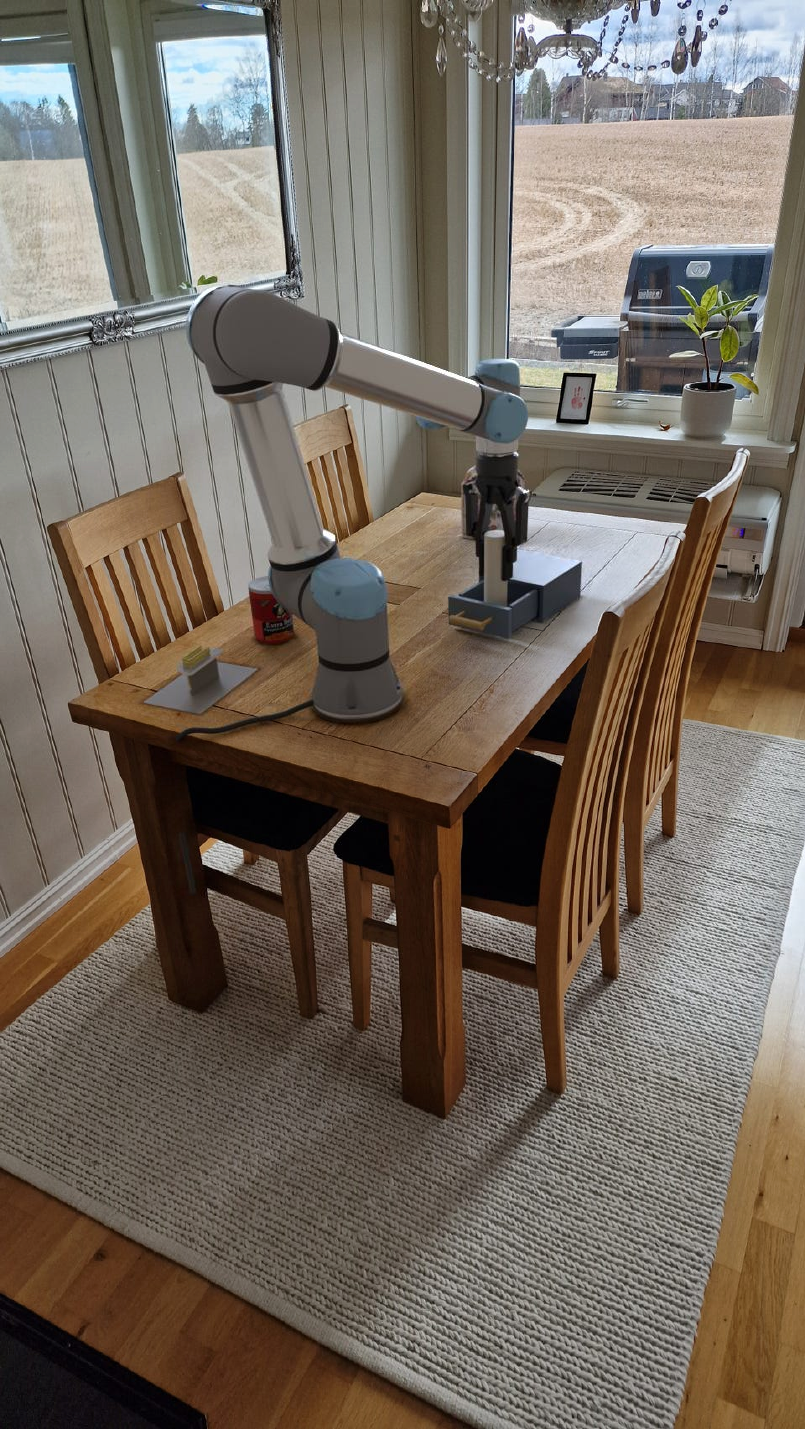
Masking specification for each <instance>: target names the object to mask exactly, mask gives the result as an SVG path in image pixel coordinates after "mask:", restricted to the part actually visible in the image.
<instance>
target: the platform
mask: <svg viewBox="0 0 805 1429" xmlns="http://www.w3.org/2000/svg"><path fill="white" fill-rule="evenodd" d="M206 646H207V647H205V648H204V649H202V644H199V645H198V646H197V647H195V648H194V649H193V650H190V652H188V653H187V654H185V655H184V656H183V657H181V662H180V663H179V664H177V665H176V671H177V672H179V673H180V674H181V675H179V676H178V677H176V678H175V679H174V680H172V681H171V682H169V683H168V684H166V685H165V686H163V687H162V688H160V690H158V691H157V692H155V693H154V694H153V695H151V696H150V697H148V698H147V699H146V700H144V701H143V702H142V703H143V704H148V705H151V706H158V707H163V708H167V709H172V710H178V711H183V712H188V713H191V714H198V715H201V714H203V713H204V712H205V711H207V710H208V709H210V708H211V706H213V705H214V704H216V703H217V702H218V701H220V700H221V699H222V698H223V697H225V696H226V695H227V694H229V692H231V691H232V690H234V689H235V688H236V687H238V686H239V685H240V684H241V683H242V682H243V681H245V680H247V679H248V678H249V677H250V676H251V675H252V674H254V673H255V672H256V671H258V670H259V668H256V667H249V666H244V665H238V664H233V663H227V662H220V661H218V660H217V658H218V657H219V656H221V655H222V654H223V652H224V651H223V649H222V648H217V647H215V648H214V647H213V648H210V645H206Z"/></svg>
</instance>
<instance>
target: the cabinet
mask: <svg viewBox="0 0 805 1429" xmlns="http://www.w3.org/2000/svg"><path fill="white" fill-rule="evenodd" d="M582 569H583V561H582V560H577V559H573V558H566V557H561V556H556V555H551V554H546V553H541V552H535V551H529V550H524V549H517V560H516V562H515V563H513V577H512V578H510V579H509V580H507V582H510V583H514V584H519V585H524V586H528V587H533V588H538V589H540V607H539V614H538V615H537V616H535V617H534V618H532V619H531V620H530V621H532V622H533V621H534V622H538V623H544V622H546V621H548V620H549V619H550V618H552V617H553V616H554V615H556V614H558V613H559V612H560V611H562V610H563V609H565V608H566V607H567V606H569V605H570V604H572V603H574V602H575V601H576V600H579V598H581V590H582V571H583V570H582ZM483 579H484V576H479V575H478V582H480V581H481V580H483Z"/></svg>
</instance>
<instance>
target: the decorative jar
mask: <svg viewBox="0 0 805 1429" xmlns="http://www.w3.org/2000/svg"><path fill="white" fill-rule="evenodd" d="M476 478H477V473H476V465H474V466H471V467H470V468H469V469H468V470H467V472H466V473H465V476H464V477H463V480H462V482H461V484H460V485H461V491H460V492H461V495H460V496H461V498H460V499H461V507H460V508H461V518H460V519H461V537H462V538H463V539H468V540H474V538H472V537H471V536H470V537H468V536H467V535H466V505H465V494H464V491H463V488H462V487H463V485H464V484H466V483H469V482H471V481H473V482H475V480H476ZM517 481H518V484H519V487H520V488H522V489H523V490H525V491H526V489H525V486H526V484H525V482H526V477H525V476H524V474H523V473H522V472H521V470H519V469H518V473H517ZM477 493H478V516H479V511H480V506H479V505H480V500H481V494H480V492H479V491H478V492H477ZM512 498H513V503H514V506H513V512H514V518H515V520H516V504H517V501H516V494H515V495H514V496H513V497H512ZM491 530H502V531H504V530H503V524H502V519H501V513H500V511H499V510H498V505H496V504H494V505H493V507H492V512H491V517H490V522H489V526H488V531H491Z"/></svg>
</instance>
